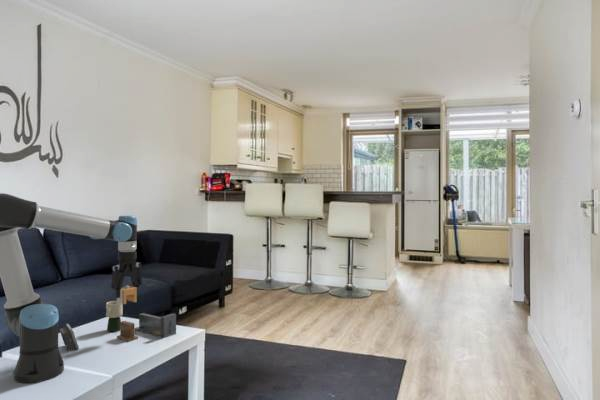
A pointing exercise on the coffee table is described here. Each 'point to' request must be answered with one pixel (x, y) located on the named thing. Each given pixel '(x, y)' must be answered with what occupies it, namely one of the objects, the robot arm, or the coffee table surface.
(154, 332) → the rail
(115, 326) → the character mug
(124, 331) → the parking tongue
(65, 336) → the electrical switch
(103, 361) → the coffee table surface
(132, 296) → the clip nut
